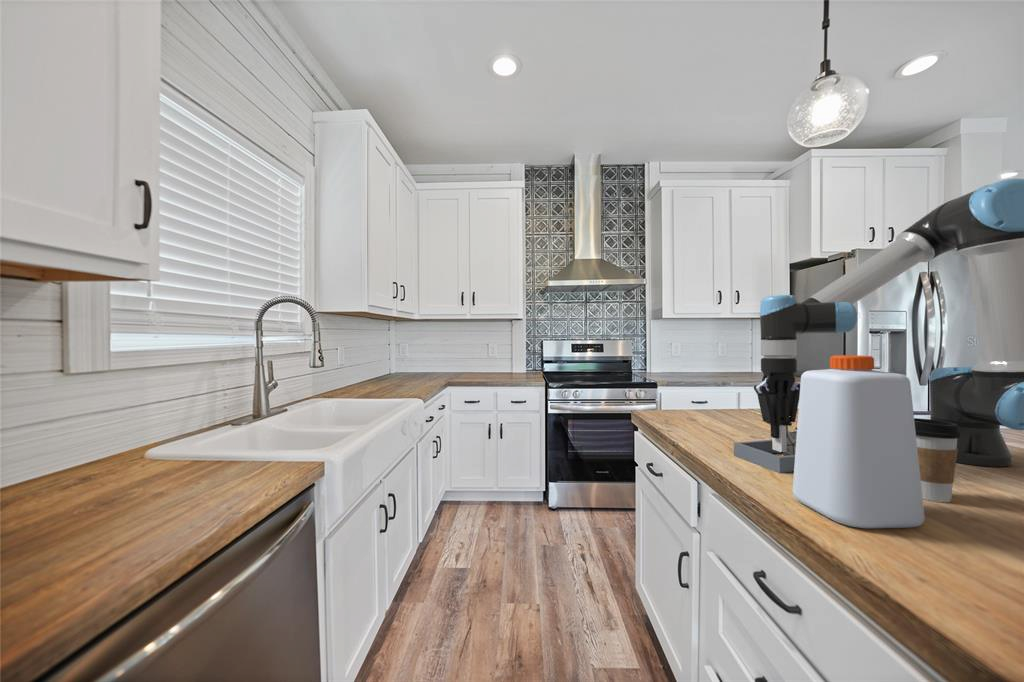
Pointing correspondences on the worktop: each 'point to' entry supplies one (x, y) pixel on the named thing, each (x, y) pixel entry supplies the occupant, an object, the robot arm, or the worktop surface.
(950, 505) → the worktop surface
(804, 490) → the plastic bottle
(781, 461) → the grey shallow tray
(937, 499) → the coffee cup
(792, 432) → the game die
